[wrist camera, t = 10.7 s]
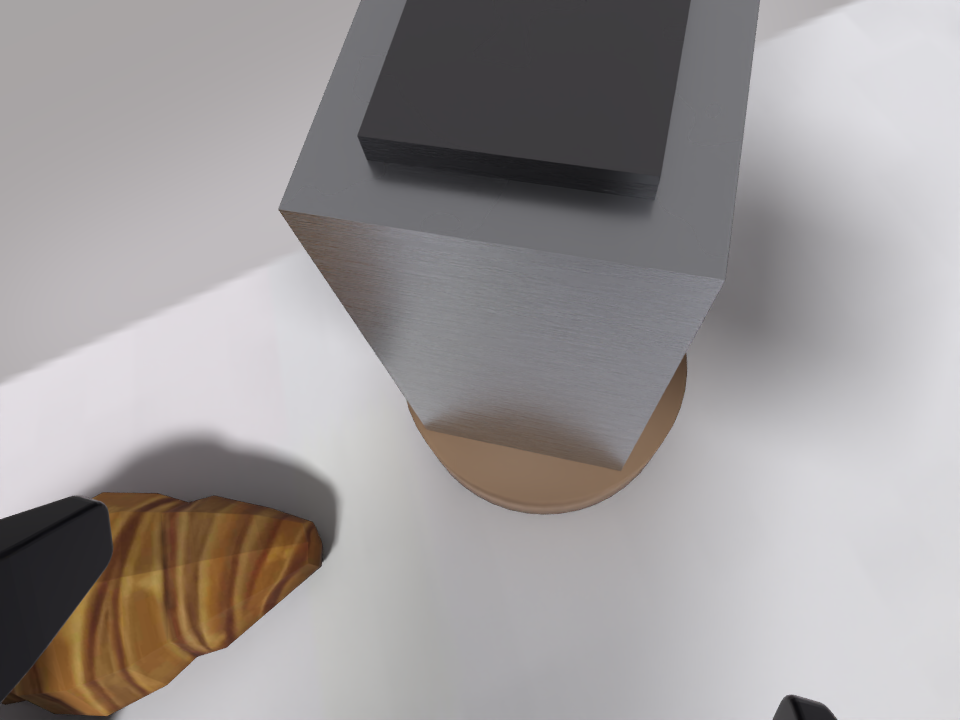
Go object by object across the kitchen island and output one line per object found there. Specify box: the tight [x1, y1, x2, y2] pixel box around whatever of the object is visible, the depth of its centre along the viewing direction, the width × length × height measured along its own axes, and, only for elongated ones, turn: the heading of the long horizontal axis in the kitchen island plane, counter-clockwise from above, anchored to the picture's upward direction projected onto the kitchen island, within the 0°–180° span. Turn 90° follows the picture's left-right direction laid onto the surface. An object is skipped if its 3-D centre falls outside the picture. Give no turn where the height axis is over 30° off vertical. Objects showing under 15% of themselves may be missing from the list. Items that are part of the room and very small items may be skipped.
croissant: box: [1, 492, 323, 716], centre depth 20 cm, size 14×7×5 cm, turn 103°
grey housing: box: [279, 0, 760, 471], centre depth 15 cm, size 6×6×12 cm
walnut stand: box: [407, 353, 687, 514], centre depth 22 cm, size 9×9×3 cm
